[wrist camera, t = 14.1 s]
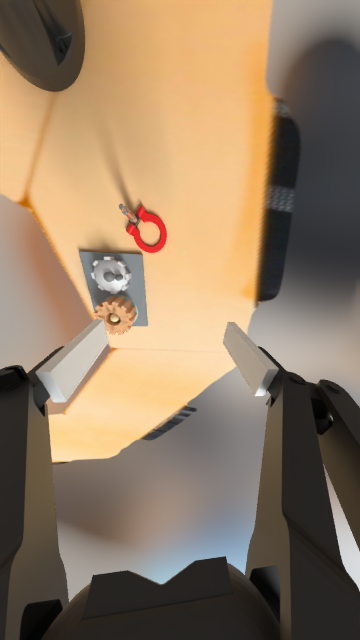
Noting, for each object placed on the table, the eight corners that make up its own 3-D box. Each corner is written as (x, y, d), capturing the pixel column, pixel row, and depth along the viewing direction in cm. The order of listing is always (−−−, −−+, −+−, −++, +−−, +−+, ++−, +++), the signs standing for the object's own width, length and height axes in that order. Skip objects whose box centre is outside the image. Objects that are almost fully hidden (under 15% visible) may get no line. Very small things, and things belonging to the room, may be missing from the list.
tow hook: (173, 232, 35) (143, 202, 31) (177, 225, 23) (130, 175, 20) (154, 259, 37) (124, 234, 34) (149, 264, 26) (104, 226, 22)
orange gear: (107, 325, 43) (98, 334, 38) (100, 295, 39) (88, 301, 33) (138, 325, 44) (134, 334, 39) (135, 295, 40) (129, 302, 34)
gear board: (81, 251, 35) (60, 250, 28) (142, 254, 36) (136, 254, 29) (99, 324, 44) (88, 336, 38) (147, 324, 46) (144, 336, 39)
